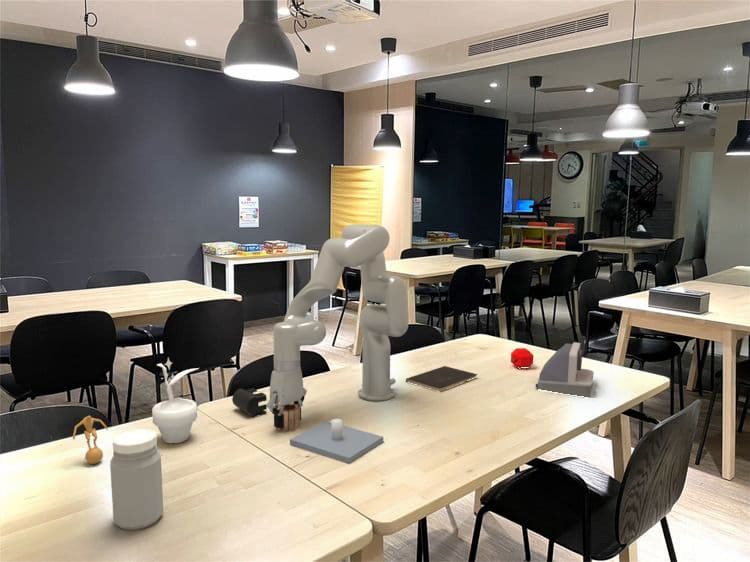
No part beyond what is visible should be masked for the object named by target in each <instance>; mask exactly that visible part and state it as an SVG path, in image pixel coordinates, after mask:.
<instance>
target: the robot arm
mask: <svg viewBox="0 0 750 562" xmlns="http://www.w3.org/2000/svg"><path fill="white" fill-rule="evenodd" d="M389 243H390V233H389V231H388V229H386V228H385V227H384V226H383V225H379V224H378V225H377V224H376V225H375V224H357V223H356V224H355V223H354V224H348V225H346V226H344V228H343V229H342V231H341V237H336V238H329V239H327V240H326V241H325V242H324V243H323V245H322V247H321V249H320V250H321V251H320V253H319V255H318V257H317V261H316V263H315V264H316V265H314V266H315V267H314V269H313V272H312V275H311V277H310V280H309V282H308V283H307V284H306V285H305V286H304V287H303V288H302V289H301V290H300V291H299V292H298V293H297V294H296V296H295V297H294V298H293V299H292V300H291V302H290V303H289V305H288V308H287V311H286V314H285V316H284V319H283V321H281V322H277V323H275V324H274V326H273V370H272V371H271V375H270V383H269V384H270V385H269V400H268V402H267V409H268V410H269V412H271V414H272V415H273V427H275V428H276V427H277V428H280V429H282V428H283V427H284V422H283V415H282V412H283V408H284V406H285V405H288V404H290V403H295V404H298V405H299V406H300V421H301V420H302V407H303V402H304V401H305V397H306V395H307V392H308V390H307V389H306V388H305V387H304V381H303V373H302V369H301V368H302V367H301V360H302V359H301V347H303V346H305V347H306V346H315V345H316V346H317V345H318V344H321V343H322V341H324V339H325V338H326V335H327V328H326V327H325V325H324V324H323V322H321V321H320V320H316V319H313V318H308V317H306V316H307V314H308V312H309V310H310V309H311V308H312V306H313V305H315V304H316V303H317V302H319V301H321V300H322V299H325V298H327V297H329V296H332V295H333V294H335V293H336V292H337V290H338V287H339V284H340V280H341V278H342V275H343V274H344V273H343V272H344V270H345V267H348V268H358V267H359V268H360V280H361V293H362V295H363V298H364V299H366V300H367V301H368V302H369V301H370V302H374V304H373V303H372V304H368V305H366V306H365V307H363V308H362V310H361V311H360V313H359V325H360V330H361V336H362V337H361V340H362V361H361V362H362V363H361V364H362V367H361V368H362V372H361V375H362V377H361V378H362V383H361V384H362V385H361V386H362V387H361V388H360V389H358V391H357V396H358V397H359V398H360V399H363V400H366V401H371V402H373V401H374V402H375V401H376V402H379V401H380V402H381V401H387V400H391V399H392V398H394V396H395V391H394V390H393V389H392V388H391V386H393V385H394V384H396V381H397V380H396V379H395V378H394V377H393V378H391V342H390V338H389V337H393V338H398V337H402V336H403V335H405V333H406V332H407V331H408V328H409V320H410V316H409V315H410V313H409V312H410V311H409V298H408V297H409V296H408V294H409V293H408V287H407V285H406V282H405V281H404V280H403V278H401V277H400V276H397V275H394V274H393V275H392V274H388V273H387V266H386V258H385V254H384V251H385V250H386V249H387V248H388V247H389ZM375 303H376V304H375ZM377 303H380V304H377ZM382 304H384V305H382ZM278 406H280V408H279V410H278V409H277V408H278Z"/></svg>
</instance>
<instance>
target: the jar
mask: <svg viewBox="0 0 750 562" xmlns="http://www.w3.org/2000/svg"><path fill="white" fill-rule="evenodd" d="M157 440H158V439H157V432H156V431H154V430H152V429H149V428H136V429H129V430H126V431H123V432H120V433H118V434H117V435H115V436H114V437H112V451H113V453H112V454H113V456H112V458H111V459H110V464H109V465H110V469H109V470H110V482H111V483H110V485H111V486H110V487H111V498H112V499H111V501H112V502H111V503H112V518H113V523H114V524H115V525H117V526H118V527H119V528H121V529H122V530H130V531H136V530H141V529H145V528H147V527H151V526H152V525H154V524H155V523H156V522H157V521H158V520H159V518H160V517H161V516H162V515H163V513H164V497H163V496H164V495H163V476H162V473H163V472H162V456H161V455H162V454H161V452H160V450H158V447H157V444H158V443H157V442H158V441H157Z"/></svg>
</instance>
